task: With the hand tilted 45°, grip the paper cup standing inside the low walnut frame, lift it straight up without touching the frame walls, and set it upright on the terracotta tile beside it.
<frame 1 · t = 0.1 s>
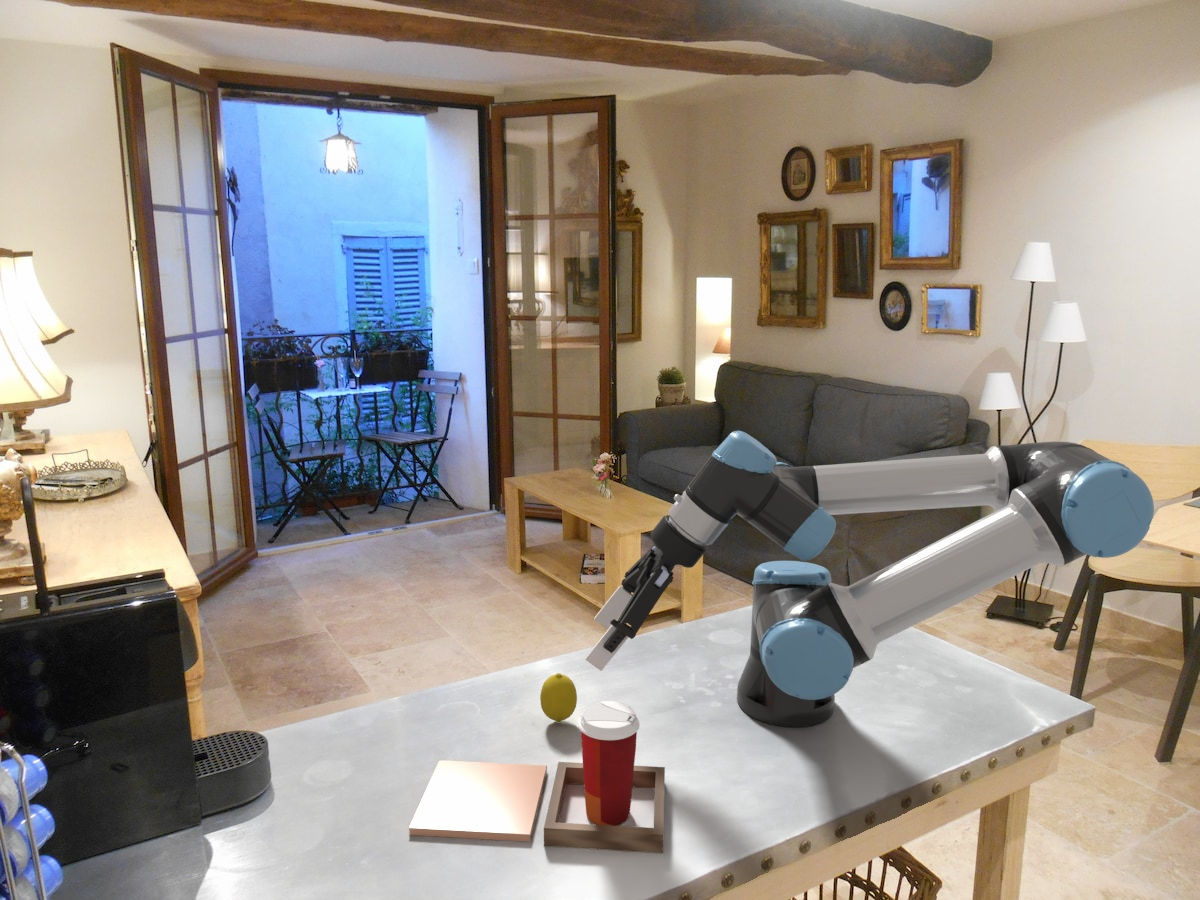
hand: (597, 643, 132), 15 cm above the table, tool tilted 35°, fingers open, 13 cm apart
lemon: (558, 723, 140), on the table
paper cup: (607, 814, 118), resting in walnut frame
walnut frame: (607, 813, 118), on the table
terracotta tile: (481, 801, 121), on the table
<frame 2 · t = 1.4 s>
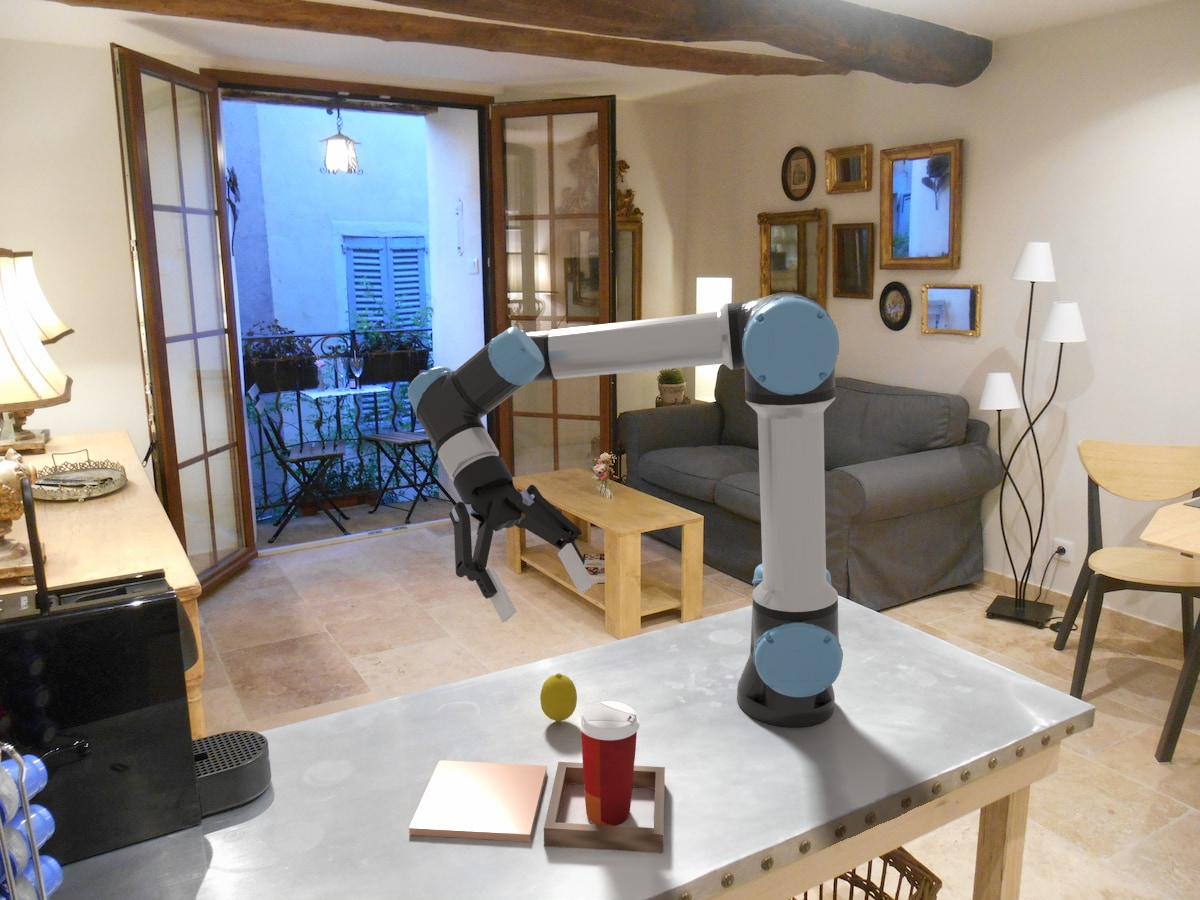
hand: (550, 602, 120), 26 cm above the table, tool tilted 45°, fingers open, 13 cm apart
nothing on the table moved.
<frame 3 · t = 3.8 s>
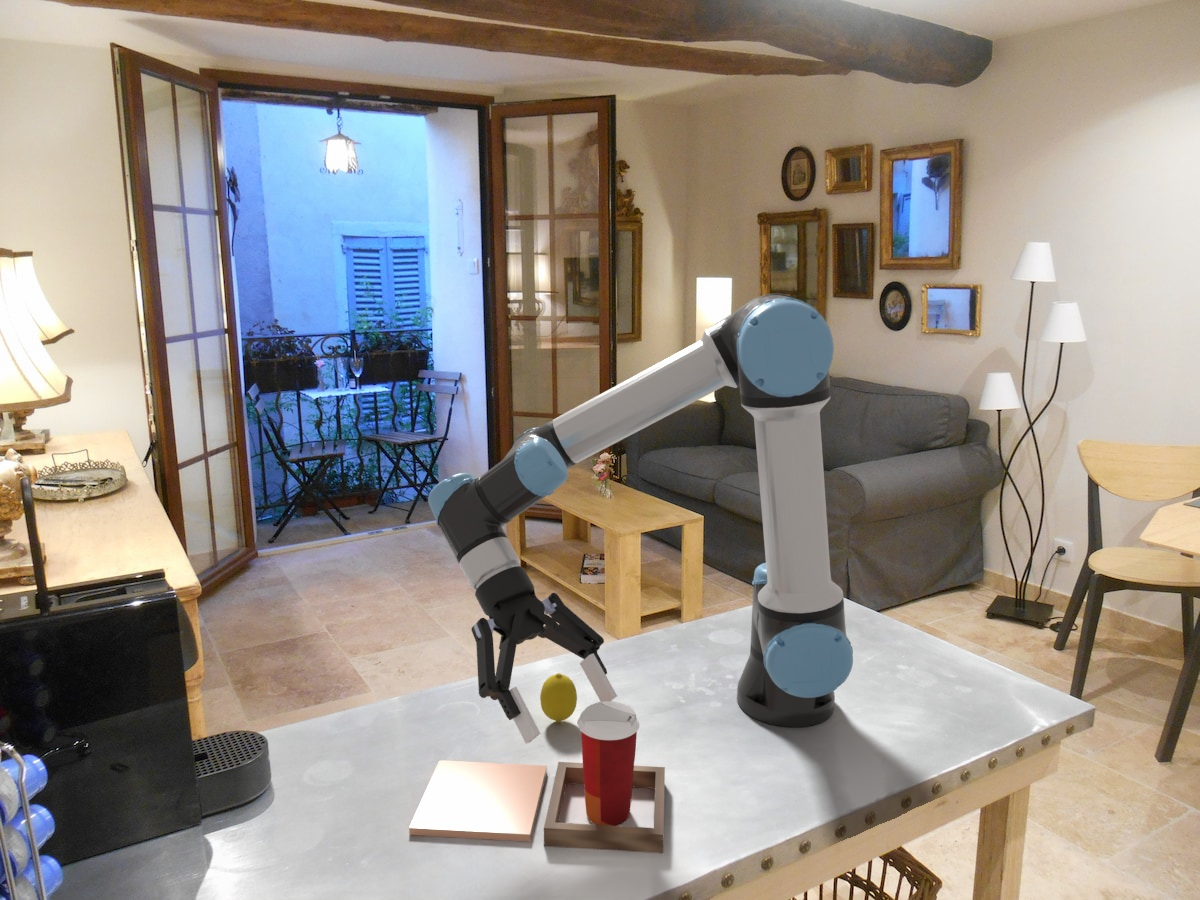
hand: (573, 719, 119), 11 cm above the table, tool tilted 45°, fingers open, 13 cm apart
nothing on the table moved.
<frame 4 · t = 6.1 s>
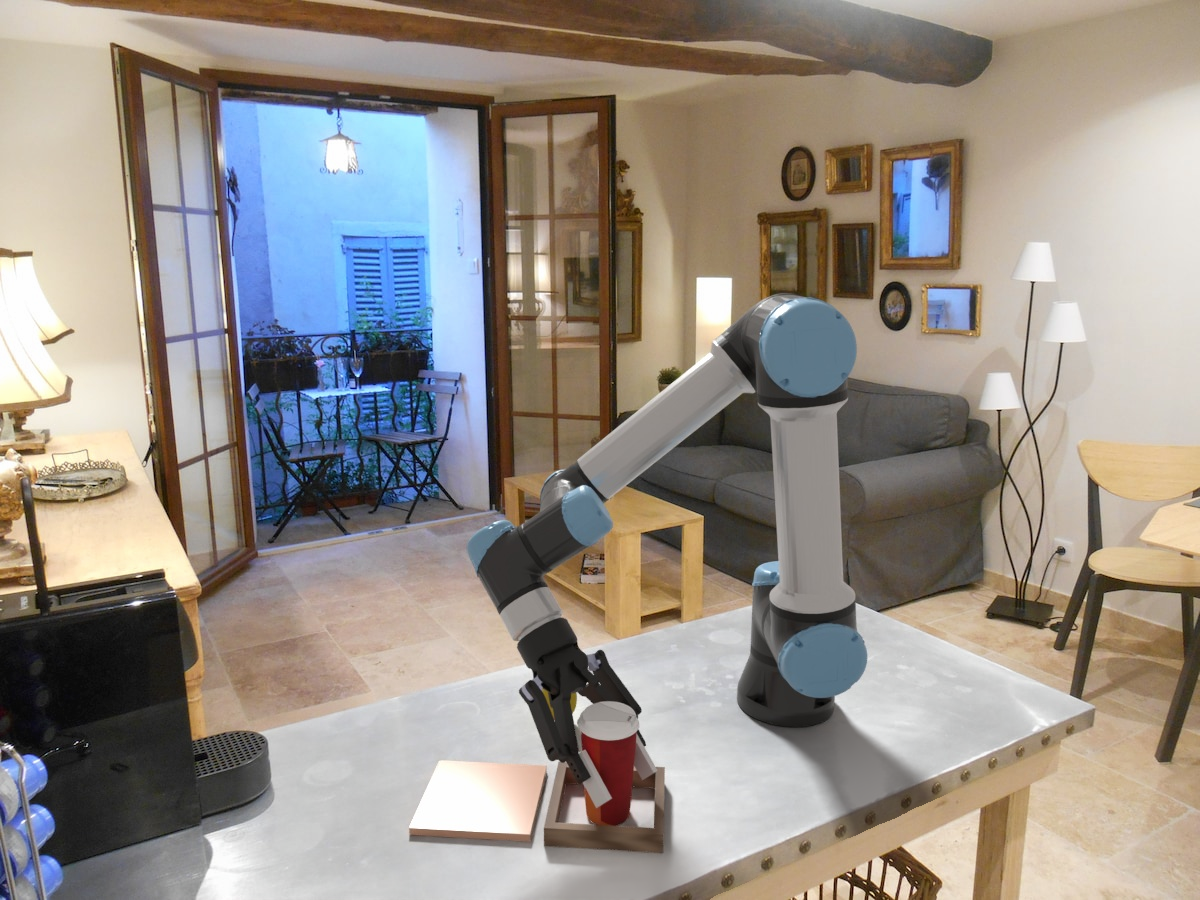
hand: (627, 788, 115), 5 cm above the table, tool tilted 45°, fingers closed on paper cup, 8 cm apart
paper cup: (607, 814, 118), resting in walnut frame, touching gripper
everything else where it was.
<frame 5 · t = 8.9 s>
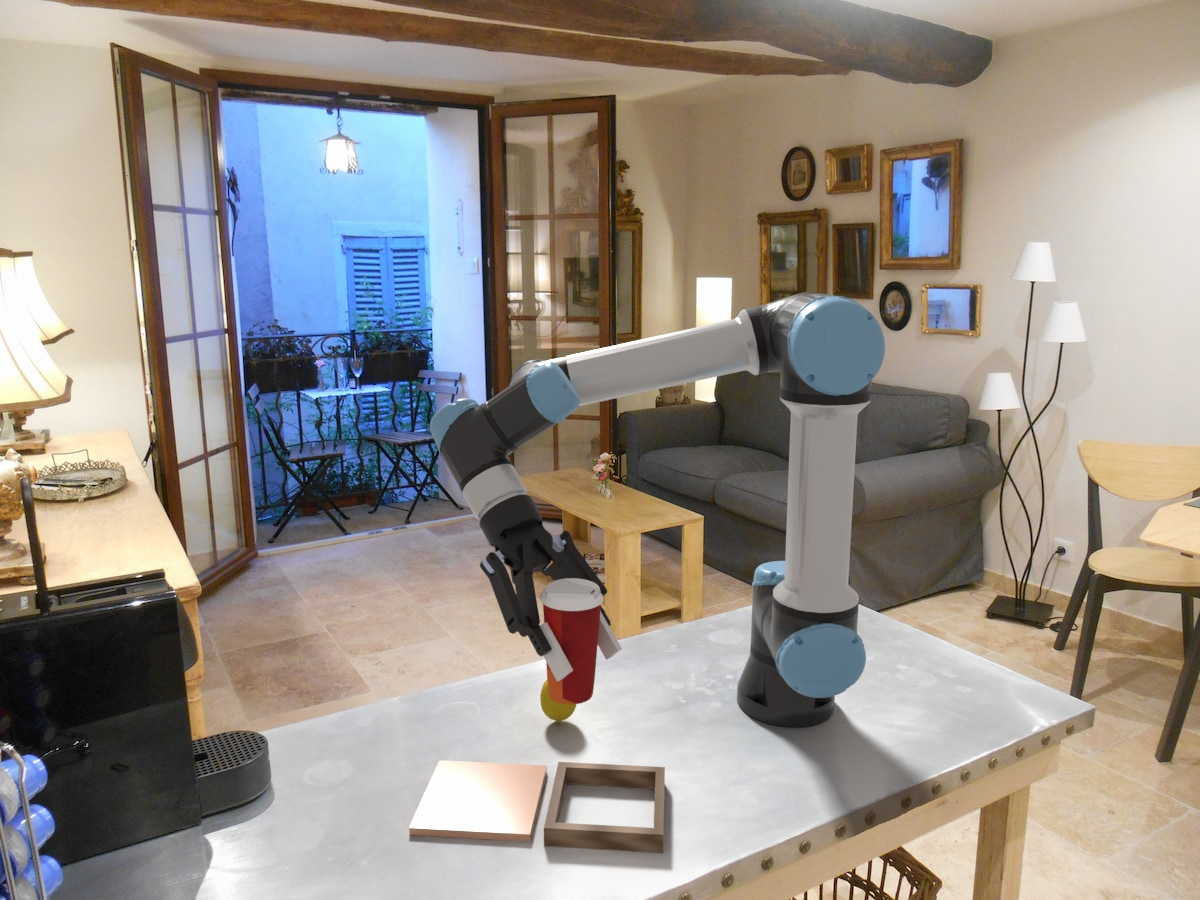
hand: (590, 664, 112), 22 cm above the table, tool tilted 45°, fingers closed on paper cup, 8 cm apart
paper cup: (570, 694, 115), point 16 cm above the table, touching gripper
everything else where it was.
when the fingers open (7 cm above the table, at t = 11.9 s): paper cup stays where it is, resting on terracotta tile.
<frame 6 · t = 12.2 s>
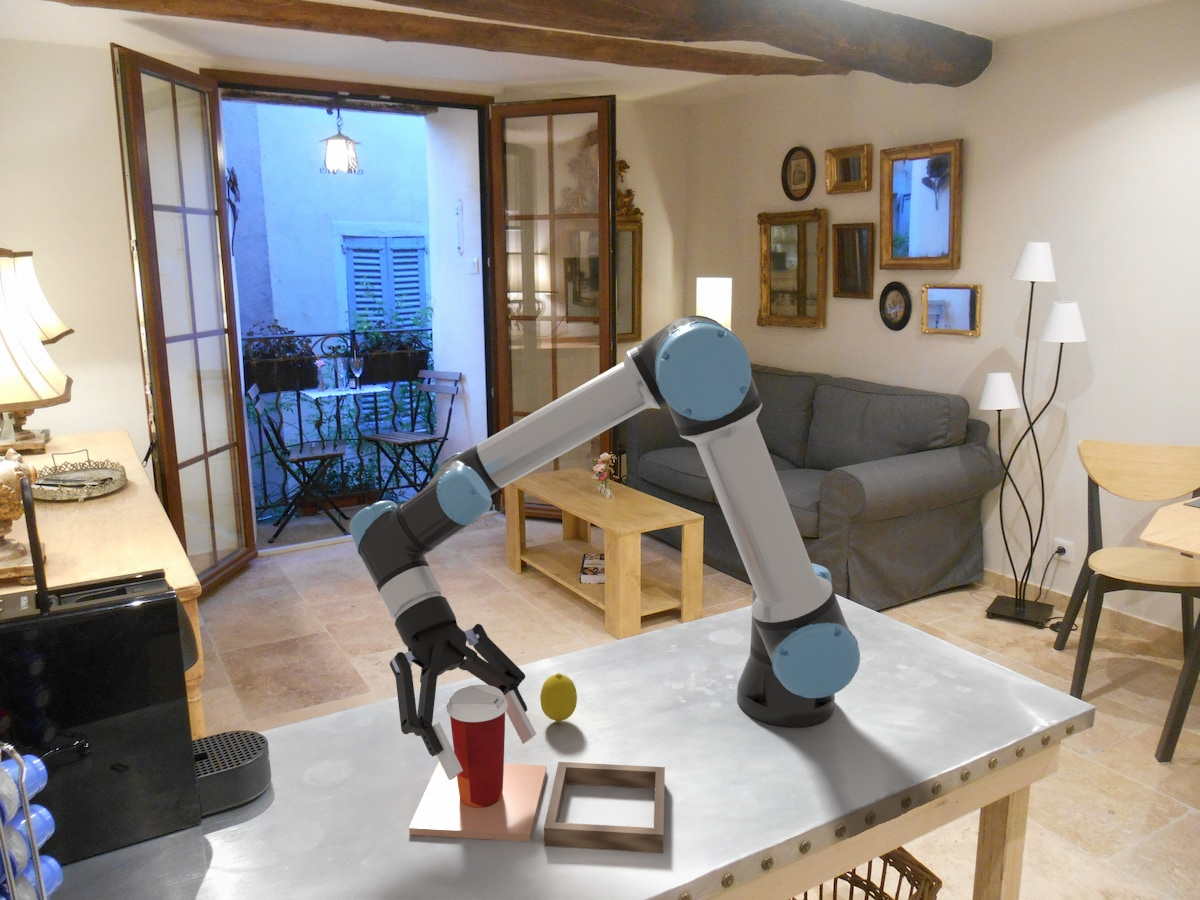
hand: (494, 756, 117), 8 cm above the table, tool tilted 45°, fingers open, 11 cm apart
paper cup: (480, 796, 120), point 1 cm above the table, touching terracotta tile
everything else where it was.
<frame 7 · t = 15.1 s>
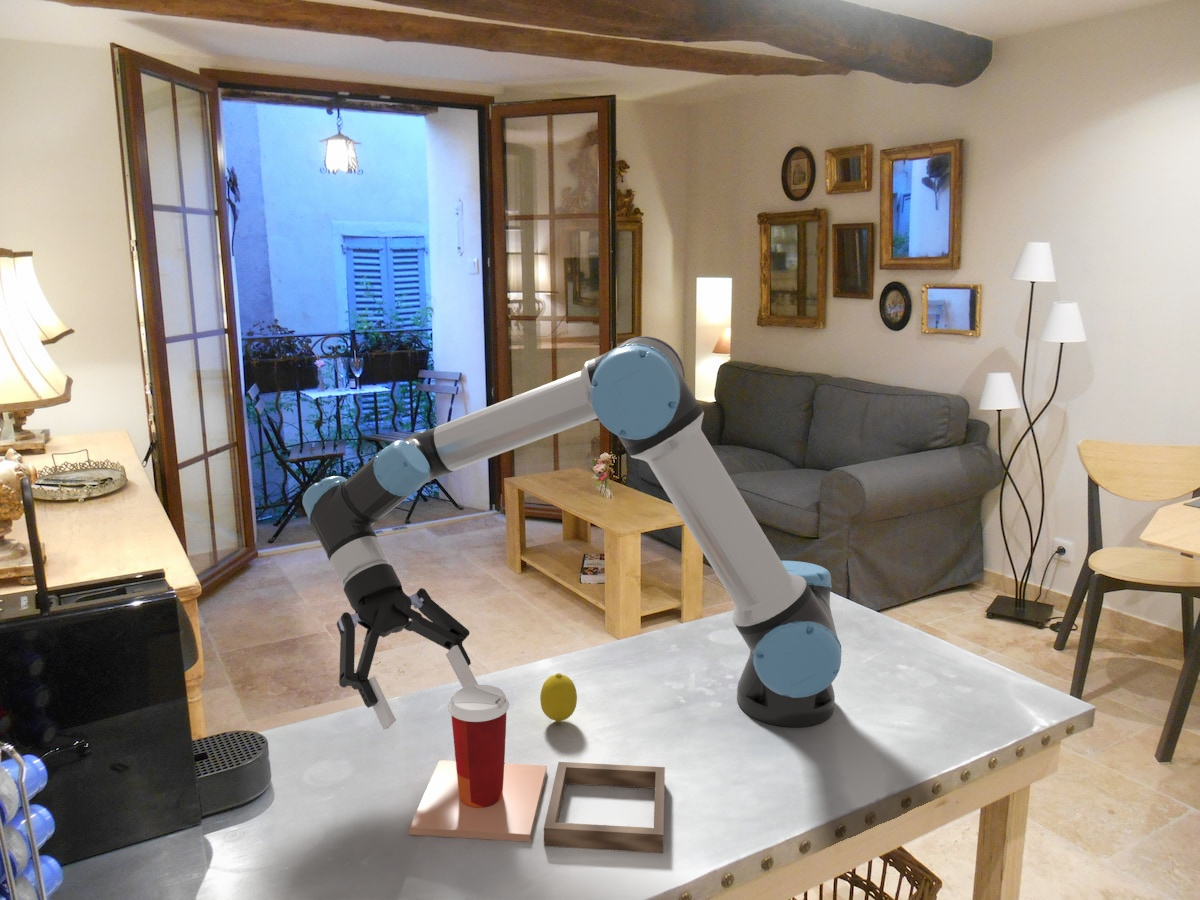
hand: (432, 707, 126), 9 cm above the table, tool tilted 45°, fingers open, 13 cm apart
nothing on the table moved.
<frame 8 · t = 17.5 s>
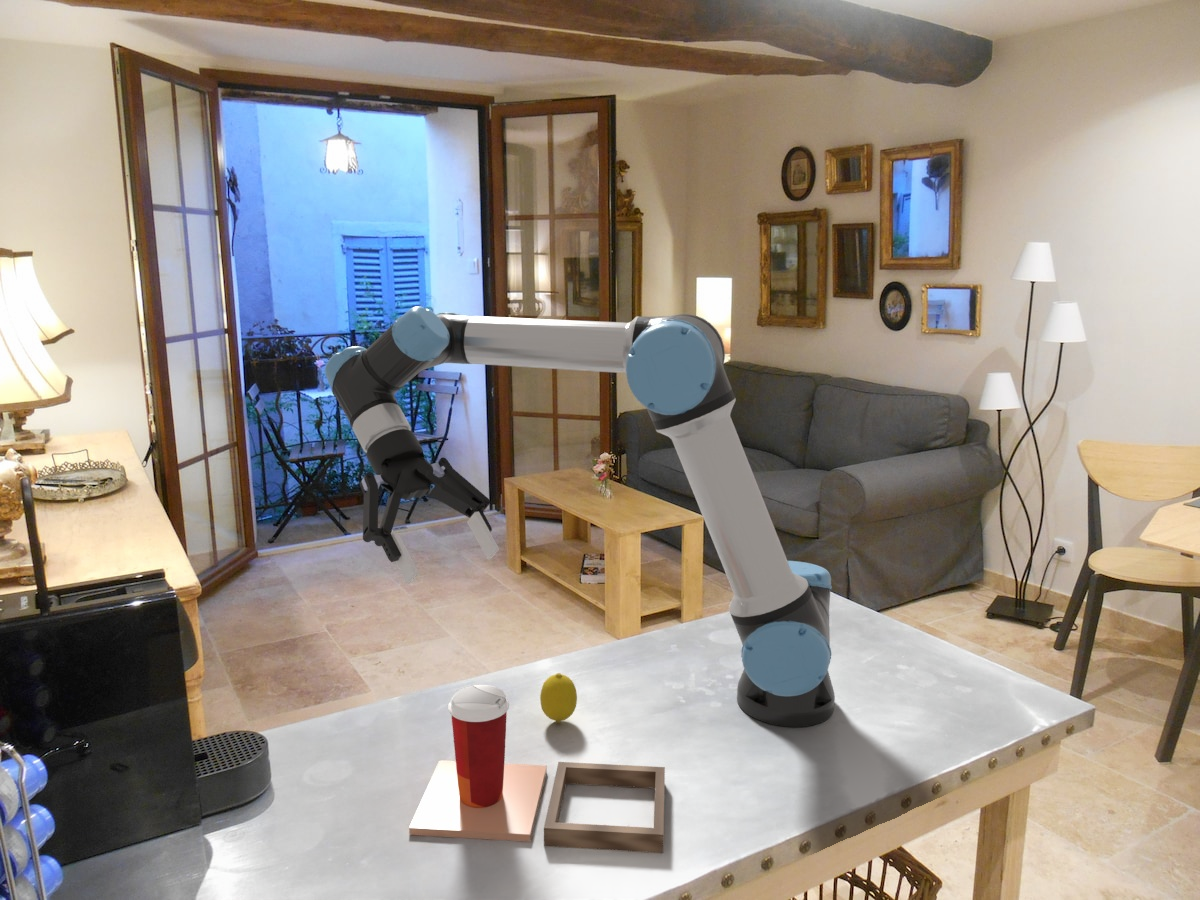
hand: (454, 566, 127), 28 cm above the table, tool tilted 45°, fingers open, 13 cm apart
nothing on the table moved.
at the end: paper cup inside the target area on the terracotta tile (0.1 cm from its centre), point 0.8 cm above the terracotta tile's base; paper cup tilted 0°; the gripper is holding nothing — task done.
